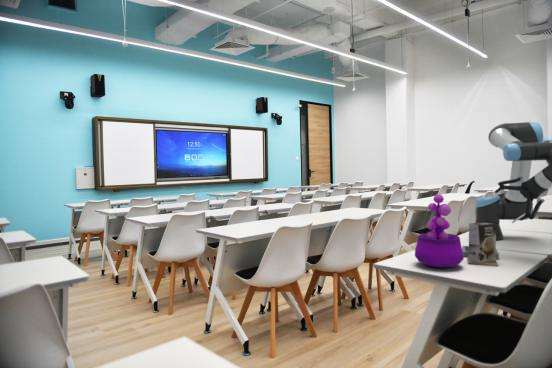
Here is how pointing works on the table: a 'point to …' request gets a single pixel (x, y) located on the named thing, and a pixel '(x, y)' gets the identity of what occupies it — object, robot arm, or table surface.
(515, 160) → the robot arm
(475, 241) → the coffee box
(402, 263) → the table surface
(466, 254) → the grey square tray
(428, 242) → the decorative plant
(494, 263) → the walnut pad
